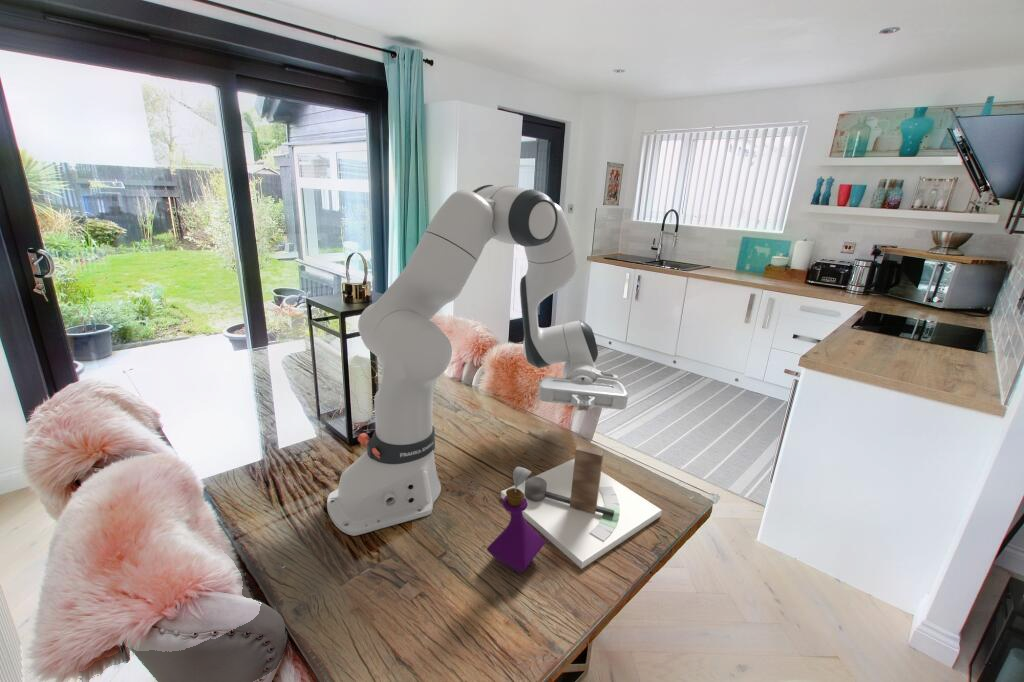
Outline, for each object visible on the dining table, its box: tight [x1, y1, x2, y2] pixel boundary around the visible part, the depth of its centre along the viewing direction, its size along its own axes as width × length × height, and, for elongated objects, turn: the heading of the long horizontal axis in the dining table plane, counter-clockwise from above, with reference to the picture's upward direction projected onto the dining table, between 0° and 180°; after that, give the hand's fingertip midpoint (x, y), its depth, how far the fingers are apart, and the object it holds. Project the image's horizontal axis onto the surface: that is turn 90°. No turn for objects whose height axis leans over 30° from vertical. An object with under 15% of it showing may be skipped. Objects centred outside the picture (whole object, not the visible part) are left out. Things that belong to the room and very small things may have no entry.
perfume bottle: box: [486, 466, 547, 574], centre depth 75 cm, size 8×8×18 cm
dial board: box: [500, 457, 663, 570], centre depth 92 cm, size 23×23×2 cm
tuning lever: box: [525, 445, 614, 516], centre depth 88 cm, size 18×4×13 cm, turn 69°
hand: (583, 407), depth 97 cm, fingers closed
